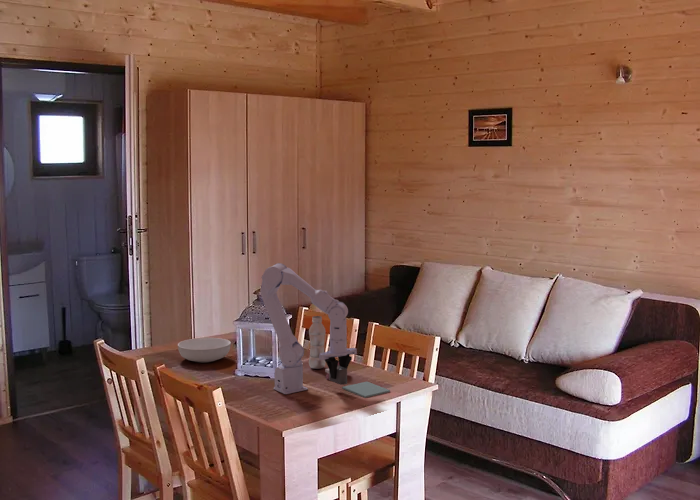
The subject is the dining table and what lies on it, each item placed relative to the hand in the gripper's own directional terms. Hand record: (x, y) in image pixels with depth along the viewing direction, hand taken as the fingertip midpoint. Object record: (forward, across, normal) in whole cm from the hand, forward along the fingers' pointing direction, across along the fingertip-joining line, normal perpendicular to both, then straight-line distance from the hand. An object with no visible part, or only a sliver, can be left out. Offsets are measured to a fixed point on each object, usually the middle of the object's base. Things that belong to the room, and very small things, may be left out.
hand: (338, 377), depth 266 cm
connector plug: (+1, 0, +1) cm, 2 cm away
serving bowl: (+6, -18, +66) cm, 69 cm away
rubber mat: (+5, +9, -4) cm, 11 cm away
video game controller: (+6, +10, +16) cm, 20 cm away
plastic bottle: (+6, +11, +29) cm, 31 cm away
